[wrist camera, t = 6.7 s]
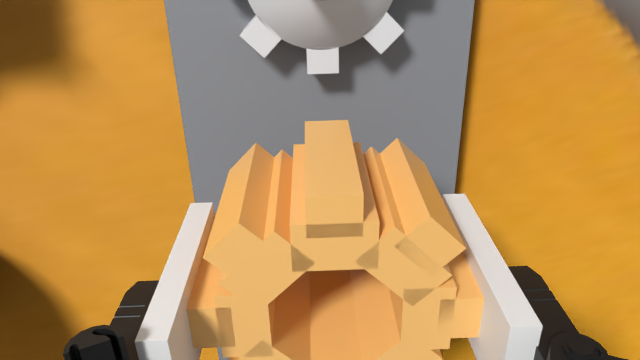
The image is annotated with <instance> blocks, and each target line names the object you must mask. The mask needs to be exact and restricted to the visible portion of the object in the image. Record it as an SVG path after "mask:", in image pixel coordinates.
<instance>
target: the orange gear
mask: <svg viewBox="0 0 640 360" xmlns="http://www.w3.org/2000/svg"><path fill="white" fill-rule="evenodd" d="M214 215H215V216H214V219H213V223H212V226H211V229H210V233H209V236H208V239H207V243H206V246H205V249H204V253H203V256H202V259H201V263H200V266H199V269H198V273H197V276H196V279H195V282H194V286H193V289H192V292H191V296H190V299H189V302H188V306H187V315H188V320H189V325H190V331H191V336H192V341H193V347H194V348H210V347H221V348H222V355H223V358H225V357H229V360H443V357H442V353H441V350H440V349H449V348H450V340H451V338H472V337H478V335H479V329H480V322H481V316H482V310H483V303H484V296H483V294H482V292H481V290H480V288H479V286H478V284H477V282H476V279H475V277H474V275H473V273H472V271H471V269H470V267H469V265H468V263H467V260H466V258H465V256H464V254H463V252H462V251H464V250H465V249H466V247H465V244H464V242H463V240H462V238H461V236H460V234H459V232H458V230H457V228H456V226H455V224H454V222H453V220H452V218H451V216H450V214H449V212H448V210H447V208H446V206H445V204H444V202H443V199H442V197H441V195H440V193H439V191H438V189H437V187H436V185H435V183H434V181H433V179H432V177H431V175H430V173H429V171H428V169H427V167H426V165H425V163H424V162H423V161H422V160H421V159H419V158H418V157H417V156H416V155H415V154H414V153H413V152H412V151H411V150H410V149H409V148H408V147H407V146H406V145H405V144H403V143H402V142H401V141H400V140H399V139H398V138H396V139H395V140H394V141H393V142H392V143H391V144H390V145H389V146H388V147H387V148H385V149H384V150H383V151H382V152H381V153H379V152H377V151H376V150H375V149H374V148H373V147H372V146H371V147H370V148H369V149H368V150H367V151H366V152H365V153H364V154H363V152H362V148H361V144H360V142H353V141H352V137H351V132H350V127H349V122H348V120H328V121H305V144H294V147H293V158H292V157H291V156H290V155H289V154H287V153H286V152H285V151H284V150H283V149H282V150H281V151H280V152H279V153H278V154H277V155H276V156H275V157H273V156H272V155H271V154H270V153H268V152H267V151H266V150H265V149H264V148H262V147H261V146H260V145H259V144H257V143H255V144H254V145H253V146H252V147H251V148H250V149H249V150H248V151H247V152H246V153H245V155H244V156H243V157H242V158H241V159H240V160H239V161H238V162H237V163H236V164H235V165H234V166H233V167H232V168H231V169H230V170H229V173H228V176H227V180H226V183H225V186H224V189H223V193H222V196H221V199H220V203H219V206H218V209H217V212H216V213H215V214H214Z"/></svg>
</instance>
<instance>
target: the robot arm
mask: <svg viewBox="0 0 640 360" xmlns="http://www.w3.org/2000/svg"><path fill="white" fill-rule="evenodd" d="M442 199H443V202H444V204H445V206H446V208H447V210H448V212H449V214H450V216H451V218H452V220H453V222H454V224H455V226H456V228H457V230H458V232H459V234H460V236H461V238H462V240H463V242H464V244H465V247H466V249H465V250H464V251H462V252H463V254H464V256H465V258H466V260H467V263H468V265H469V267H470V269H471V271H472V273H473V275H474V277H475V279H476V282H477V284H478V286H479V288H480V290H481V292H482V294H483V296H484V303H483V310H482V316H481V322H480V329H479V335H478V337H472V338H468V339H469V342H470V344H471V347H472V349H473V352H474V354H475V357H476V360H627V359H622V358H618V357H614V356H610V355H608V353H607V351H606V350H605V349H604V348H603V347H602V346H601V345H600V344H599V343H598V342H596V341H595V340H593V339H591V338H590V337H587V336H585V335H582V334H579V332H578V331H577V329H576V328H575V326H574V325H573V323H572V322H571V320H570V319H569V317H568V316H567V314H566V313H565V311H564V310H563V308H562V307H561V305H560V304H559V302H558V301H557V300H556V299H555V296H554V295H553V293H552V292H551V291H549V288H548V286H547V285H546V283H545V282H544V280H543V279H542V277H541V276H540V275H539V274H537V273H536V272H535V271H533V270H532V269H531V268H529V267H528V266H511V267H508V266H507V265H506V263H505V261H504V260H503V258H502V256H501V255H500V253H499V251H498V249H497V248H496V246H495V244H494V243H493V241H492V239H491V238H490V236H489V234H488V233H487V231H486V229H485V227H484V226H483V224H482V222H481V221H480V219H479V217H478V216H477V214H476V212H475V211H474V209H473V207H472V205H471V204H470V202H469V200H468V199H467V197H466V195H465V194H443V198H442ZM214 216H215V215H214V208H213V202H209V203H191V204H190V206H189V209H188V211H187V214H186V216H185V219H184V221H183V224H182V226H181V229H180V231H179V233H178V236H177V238H176V241H175V243H174V246H173V248H172V251H171V253H170V256H169V258H168V261H167V263H166V265H165V268H164V270H163V273H162V275H161V278H160V280H159V281H138V282H137V283H136V284H134V285H133V286H132V287H131V288H130V289H129V290H128V291H127V292H126V293H125V295H124V297H123V299H122V301H121V303H120V305H119V308H118V309H117V311H116V313H115V317H114V318H113V320H112V322H111V324H110V326H108V325H101V326H95V327H91V328H89V329H86V330H84V331H81V332H80V333H78V334H77V335H76V336H74V337H73V338H72V339H71V340H70V341H69V342H68V343H67V345H66V346H65V349H64V353H63V356H64V359H65V360H199V358H200V353H201V349H202V348H194V347H193V341H192V336H191V331H190V325H189V320H188V315H187V306H188V302H189V299H190V296H191V292H192V289H193V286H194V282H195V279H196V276H197V273H198V269H199V266H200V263H201V259H202V256H203V253H204V249H205V246H206V243H207V239H208V236H209V233H210V229H211V226H212V223H213V219H214Z"/></svg>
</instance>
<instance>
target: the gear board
mask: <svg viewBox="0 0 640 360" xmlns="http://www.w3.org/2000/svg"><path fill="white" fill-rule="evenodd" d="M474 2H475V0H164V4H165V11H166V17H167V24H168V30H169V37H170V43H171V50H172V56H173V63H174V69H175V76H176V82H177V89H178V95H179V102H180V108H181V115H182V121H183V127H184V134H185V140H186V147H187V153H188V160H189V166H190V173H191V179H192V186H193V192H194V199H195V203H209V202H213V208H214V214H215V213H216V212H217V209H218V206H219V203H220V199H221V196H222V193H223V189H224V186H225V183H226V180H227V176H228V173H229V170H230V169H231V168H232V167H233V166H234V165H235V164H236V163H237V162H238V161H239V160H240V159H241V158H242V157H243V156H244V155H245V153H246V152H247V151H248V150H249V149H250V148H251V147H252V146H253V145H254V144H255V143H257V144H259V145H260V146H261V147H262V148H264V149H265V150H266V151H267V152H268V153H270V154H271V155H272V156H273V157H275V156H276V155H277V154H278V153H279V152H280V151H281V150H282V149H283V150H284V151H285V152H286V153H287V154H289V155H290V156H291V157H292V158H293V147H294V144H305V121H328V120H348V122H349V127H350V132H351V137H352V141H353V142H360V144H361V148H362V152H363V154H364V153H365V152H366V151H367V150H368V149H369V148H370V147H371V146H372V147H373V148H374V149H375V150H376V151H377V152H379V153H381V152H382V151H383V150H384V149H385V148H387V147H388V146H389V145H390V144H391V143H392V142H393V141H394V140H395V139H396V138H398V139H399V140H400V141H401V142H402V143H403V144H405V145H406V146H407V147H408V148H409V149H410V150H411V151H412V152H413V153H414V154H415V155H416V156H417V157H418V158H419V159H421V160H422V161H423V162H424V163H425V165H426V167H427V169H428V171H429V173H430V175H431V177H432V179H433V181H434V183H435V185H436V187H437V189H438V191H439V193H440V195H441V197H442V198H443V194H454V193H455V183H456V174H457V164H458V155H459V145H460V136H461V126H462V117H463V107H464V97H465V88H466V78H467V69H468V59H469V50H470V40H471V30H472V21H473V11H474ZM217 348H218V355H219V360H229V357H225V358H223V355H222V348H221V347H217Z"/></svg>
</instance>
